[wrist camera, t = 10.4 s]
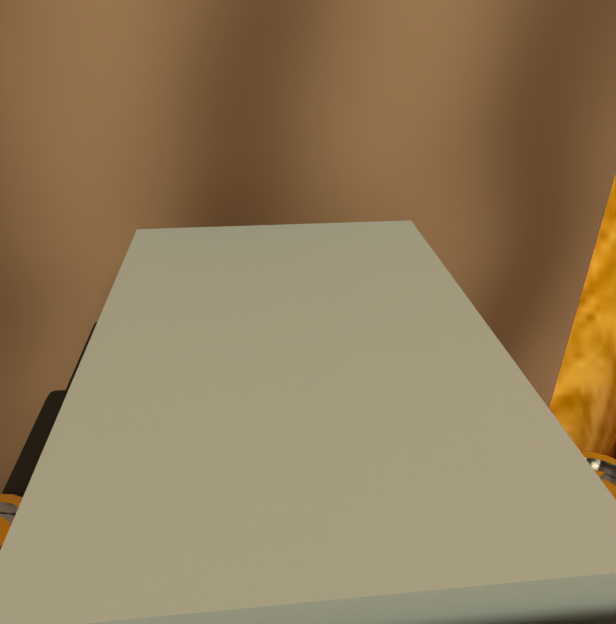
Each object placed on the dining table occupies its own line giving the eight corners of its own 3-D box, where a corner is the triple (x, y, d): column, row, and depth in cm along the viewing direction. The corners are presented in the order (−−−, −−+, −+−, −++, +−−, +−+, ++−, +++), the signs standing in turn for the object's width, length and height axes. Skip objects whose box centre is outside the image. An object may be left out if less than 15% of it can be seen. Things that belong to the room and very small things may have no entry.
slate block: (410, 220, 12) (665, 567, 5) (389, 425, 14) (529, 835, 7) (137, 229, 11) (-36, 634, 4) (169, 439, 14) (98, 893, 7)
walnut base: (611, -70, 13) (687, -82, 11) (491, 453, 21) (520, 507, 19) (-146, -83, 11) (-237, -100, 9) (40, 486, 19) (15, 549, 17)
